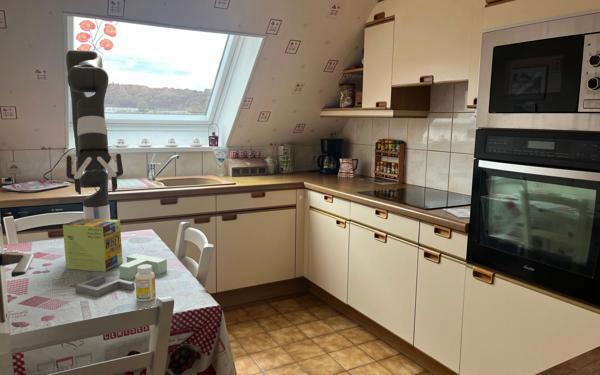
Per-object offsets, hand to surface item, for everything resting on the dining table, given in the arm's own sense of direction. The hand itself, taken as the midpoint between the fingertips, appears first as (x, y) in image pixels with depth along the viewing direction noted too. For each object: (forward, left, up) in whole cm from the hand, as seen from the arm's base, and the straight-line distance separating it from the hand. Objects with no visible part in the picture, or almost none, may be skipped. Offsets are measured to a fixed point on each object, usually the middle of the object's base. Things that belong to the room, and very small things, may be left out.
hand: (96, 192), depth 132 cm
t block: (-10, +22, -31) cm, 40 cm away
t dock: (-10, +7, -31) cm, 33 cm away
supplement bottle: (+8, +7, -32) cm, 34 cm away
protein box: (-29, +21, -32) cm, 48 cm away
